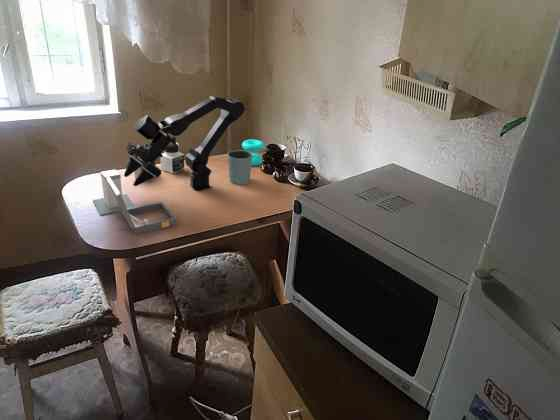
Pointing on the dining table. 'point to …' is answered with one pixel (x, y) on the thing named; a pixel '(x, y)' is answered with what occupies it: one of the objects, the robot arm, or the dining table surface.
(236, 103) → the robot arm
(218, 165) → the dining table surface
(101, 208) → the slate mat
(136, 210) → the equipment case
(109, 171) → the block
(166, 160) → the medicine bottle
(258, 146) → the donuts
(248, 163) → the grey teal cup
